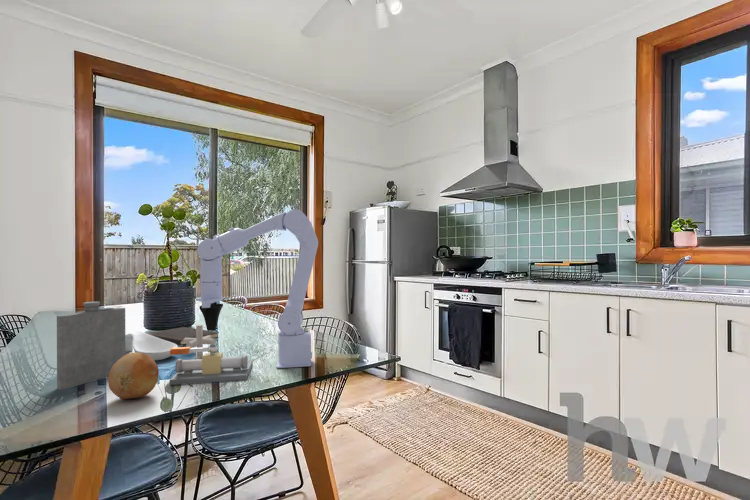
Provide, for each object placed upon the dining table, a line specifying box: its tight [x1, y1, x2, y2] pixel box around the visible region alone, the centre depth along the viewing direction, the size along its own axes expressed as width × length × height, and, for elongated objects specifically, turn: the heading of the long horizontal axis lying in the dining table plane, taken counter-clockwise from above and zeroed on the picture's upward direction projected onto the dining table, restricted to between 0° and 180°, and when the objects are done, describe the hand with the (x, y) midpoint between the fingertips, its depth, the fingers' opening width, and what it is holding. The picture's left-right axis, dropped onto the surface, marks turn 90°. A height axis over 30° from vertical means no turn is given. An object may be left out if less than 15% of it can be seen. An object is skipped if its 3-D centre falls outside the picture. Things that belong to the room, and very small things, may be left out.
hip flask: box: [56, 301, 127, 391], centre depth 103 cm, size 16×4×20 cm, turn 154°
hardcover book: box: [145, 326, 220, 346], centre depth 154 cm, size 16×23×2 cm
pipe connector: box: [183, 324, 217, 359], centre depth 124 cm, size 10×10×10 cm
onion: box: [107, 352, 160, 400], centre depth 89 cm, size 10×10×10 cm
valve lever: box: [170, 344, 219, 356], centre depth 104 cm, size 11×2×2 cm, turn 101°
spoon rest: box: [125, 331, 179, 362], centre depth 126 cm, size 24×12×7 cm, turn 61°
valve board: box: [169, 352, 254, 386], centre depth 107 cm, size 18×14×6 cm
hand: (211, 330), depth 113 cm, fingers closed
